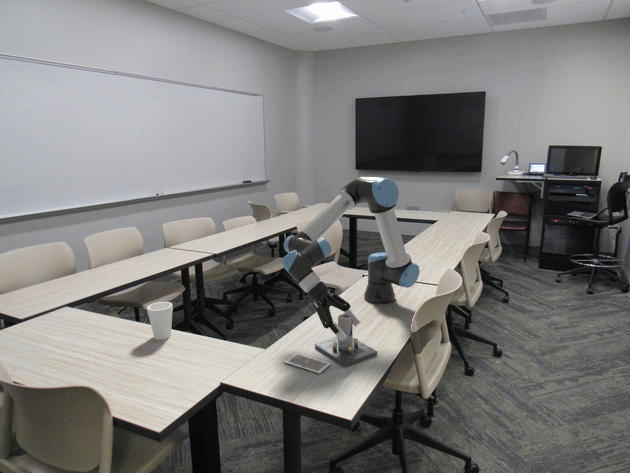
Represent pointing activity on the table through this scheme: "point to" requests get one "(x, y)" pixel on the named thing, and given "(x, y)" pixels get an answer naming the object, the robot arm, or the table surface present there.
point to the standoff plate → (346, 351)
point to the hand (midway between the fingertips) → (351, 331)
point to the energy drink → (345, 331)
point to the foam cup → (160, 319)
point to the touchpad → (307, 362)
